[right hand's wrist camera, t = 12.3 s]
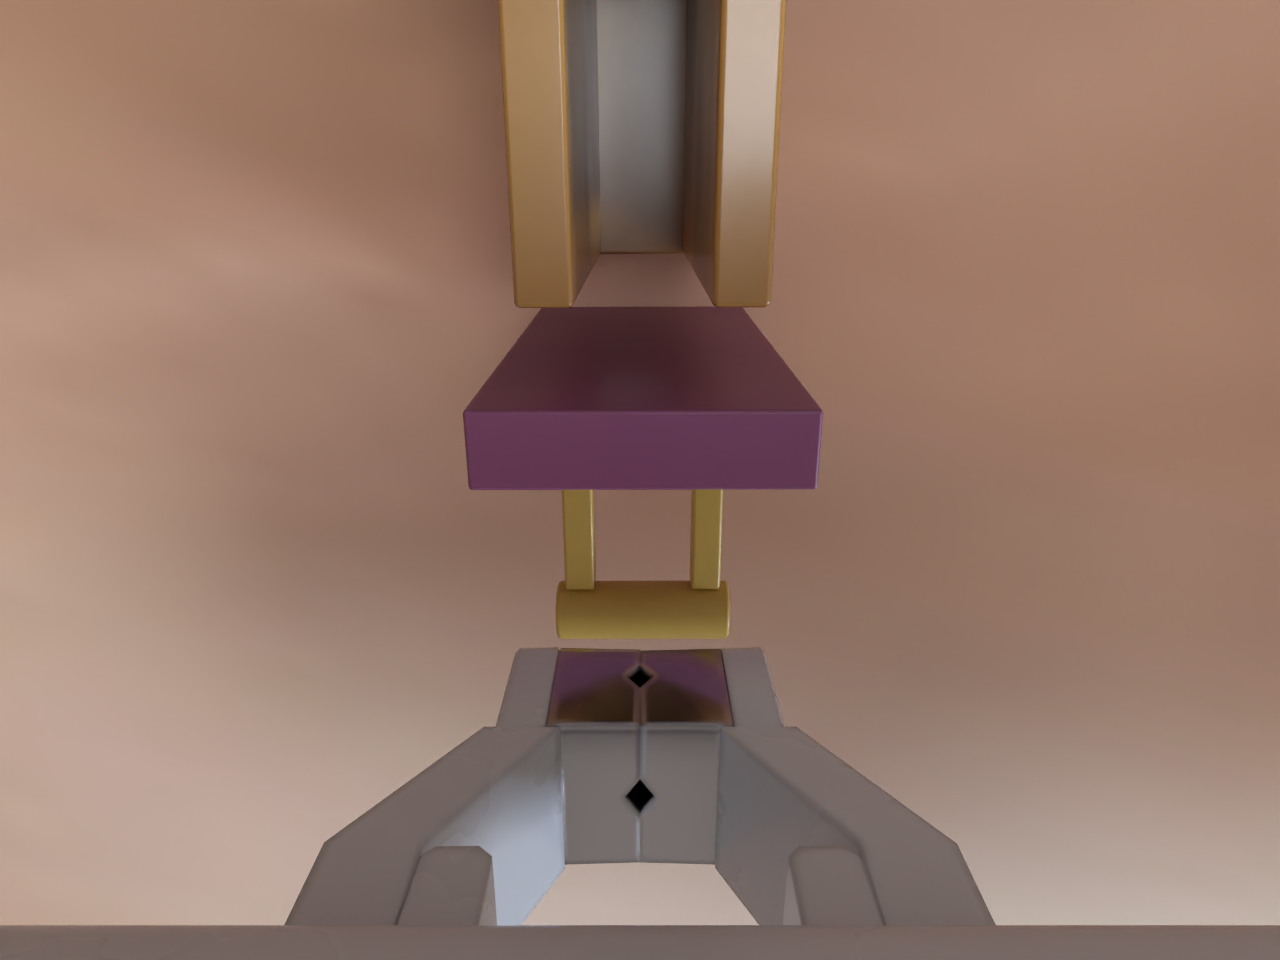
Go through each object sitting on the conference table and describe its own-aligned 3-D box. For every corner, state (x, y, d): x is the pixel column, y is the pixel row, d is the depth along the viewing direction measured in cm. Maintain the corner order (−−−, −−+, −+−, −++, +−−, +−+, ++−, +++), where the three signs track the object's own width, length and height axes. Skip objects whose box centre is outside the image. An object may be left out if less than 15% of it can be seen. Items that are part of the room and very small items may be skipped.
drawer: (733, 533, 23) (795, 774, 14) (551, 533, 23) (491, 774, 14) (781, -660, 15) (1012, -2044, 6) (499, -658, 15) (264, -2041, 6)
